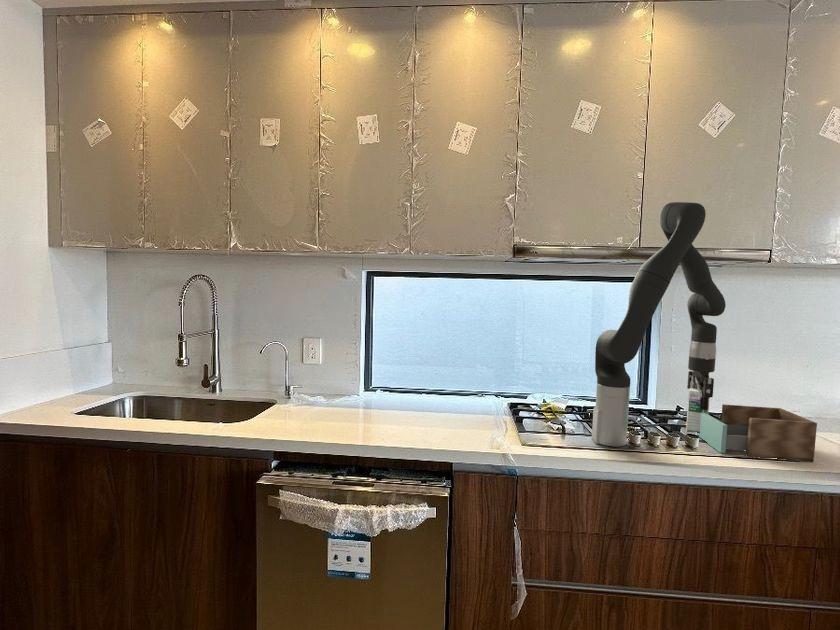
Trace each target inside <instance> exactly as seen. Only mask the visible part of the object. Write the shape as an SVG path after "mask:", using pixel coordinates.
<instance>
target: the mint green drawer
mask: <svg viewBox="0 0 840 630" xmlns="http://www.w3.org/2000/svg"><path fill="white" fill-rule="evenodd" d="M748 429H749V426H741V425H726V424H724V423H722V422H721V420H719V419H717V418H716V417H713V416H711V415H710V414H709V413H708V414H706V413H701V424H700V436H699V437H701V438H702V439H704V440H705V441H706V442H707V443H708V444H707V443H706V442H705V443H706V444H707V445H709V446H711V447H712V448H713V449H714V448H715V451H717V452H719V453H721V454H726V450H734V451H735V450H736V451H744V450H747V441H748ZM702 439H701V440H702Z"/></svg>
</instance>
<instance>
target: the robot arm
mask: <svg viewBox="0 0 840 630" xmlns="http://www.w3.org/2000/svg"><path fill="white" fill-rule="evenodd" d="M706 213H707V212H706V209H705V207H704V205H703V204H701V203H698V202H687V201H685V202H682V201H679V202H678V201H677V202H676V201H675V202H674V201H671V202H669V203H666V204H665V205H664V206H663V207H662V208H661V210H660V212H659V217H658V220H659V225H660V228H661V230H662V232H663V234H664V236H665V238H666V240H667V242H666V243H665V245H664V246H663V247H662V248H660V249H659V250H657V251H656V252H655V253H654V254H653V255H651V256H650V257H649V258H648V259H647V260H646V261H645V262H643V264H642V265H641V266H640V267H639V270H638V271H637V272H636V275H635V277H634V279H633V281H632V282H631V285H630V289H629V292H628V293H629V295H628V304H627V311H626V314H625V315H624V318H623V320H622V322H621V324H620V326H619V327H618V329H617V330H616V329H608V330H605V331H602V333H600V334H599V335H598V338H597V340H596V343H595V358H594V361H595V362H594V363H595V364H594V365H595V366H594V372H595V376H596V393H595V406H594V407H593V412H592V427H591V439H592V440H593V442H594V443H595V444H598V445H603V446H606V447H607V446H608V447H623V446H626V445H627V438H628V422H629V409H630V408H629V406H630V392H631V377H630V375H629V374H628V372H627V370H626V366H625V364H627V363H630V362H631V361H632V360H634V359H635V357H636V356H637V354H638V352H639V349H640V347H641V345H642V342H643V339H644V336H645V335H646V331H647V330H648V329H647V328H648V327H649V324H650V322H651V320H652V318H653V316H654V314H655V312H656V310H657V307H658V306H659V305H660V302H661V300H662V298H663V297H664V295H665V293H666V291H668V290H667V289H668V287H669V286H670V283H671V281H672V280H673V277H674V275H675V273H676V271H677V269H678V268H679V266H680V267H681V269H682V272H683V277H684V280H685V282H686V286H687V288H688V290H689V291H690V292H691V293H692V294H691V295H690V297H688V301H687V310H688V317H689V321H690V325H691V335H690V338H691V339H690V340H691V341H690V344H689V352H688V353H689V354H688V362H687V363H688V364H687V365H688V366H687V367H688V370H689V371H688V373H687V374H688V376H687V390H688V391H689V390H690V388H694V389H698V391H699V392H700V396H701V398H700V409H701V410H707V409H708V400H709V401H710V399H709V398H713V396H714V387H715V385H714V384H715V379H714V378H712V377H710V373H713V372H715V370H716V357H717V343H716V342H717V334H718V333H717V332H718V330H717V326H716V324H713V323H710V322H707V321H706V320H705V318H704V316H705V317H720V316H721V315H723V314H724V311H725V310H726V305H727V304H726V300H725V298H724V295H723V294H722V292H721V291H720V289H719V288H718V287H717V285H716V284H715V282H714V280H713V278H712V274H711V271H710V266H709V264H708V263H707V261H706V260H705V258H704V257H703V255H702V254H701V253H700V252H699V251H698V249H697V248H696V247H695V246H694V244H693V243H694V241H695V240H696V238H697V236H698V235H699V234H700V233H701V229H702V228H703V226H704V223H705V220H706V217H707V216H706V215H707V214H706ZM709 391H710V392H709Z"/></svg>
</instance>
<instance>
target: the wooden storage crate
mask: <svg viewBox="0 0 840 630" xmlns="http://www.w3.org/2000/svg"><path fill="white" fill-rule="evenodd" d="M721 406H722V407H721V419H720V422H722V423H724V424H726V425H741V426H749V429H748V441H747V450H746V451H747V452H745V453H746V454H745V456H746V455H747V456H748V457H752V459H761V458H777V459H786V460H785V461H788V460H798V461H797V462H803V463H804V462H805V463H814V459H815V449H816V441H817V440H816V437H817V428H818V427H817V426H818V423H817V422H815V421H814V420H810V419H809V418H808V419H807V418H805V417H803V416H800V415H798V414H796V413H793V412H792V411H791V412H790V411H788V410H786V409H783V408H781V407H767V406H753V405H752V406H751V405H739V404H738V405H737V404H736V405H735V404H722V405H721ZM747 456H746V457H747ZM748 457H747V458H748ZM753 457H755V458H753ZM758 457H760V458H758Z"/></svg>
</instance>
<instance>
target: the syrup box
mask: <svg viewBox="0 0 840 630" xmlns="http://www.w3.org/2000/svg"><path fill="white" fill-rule="evenodd" d="M709 392H710V391H709ZM700 398H701V396H700V392H699V391H698V389H694V388H690V390H689V389H688V397H687V412H686V413H687V414H686V425H685V433H686V432H697V433H699V434H700V424H701V413H706V414H708V415H709V412H710V411H709V410H710V400H711V399H710V398H711V397H710V398H709V400H708V409H707V410H701V409H700Z"/></svg>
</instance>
